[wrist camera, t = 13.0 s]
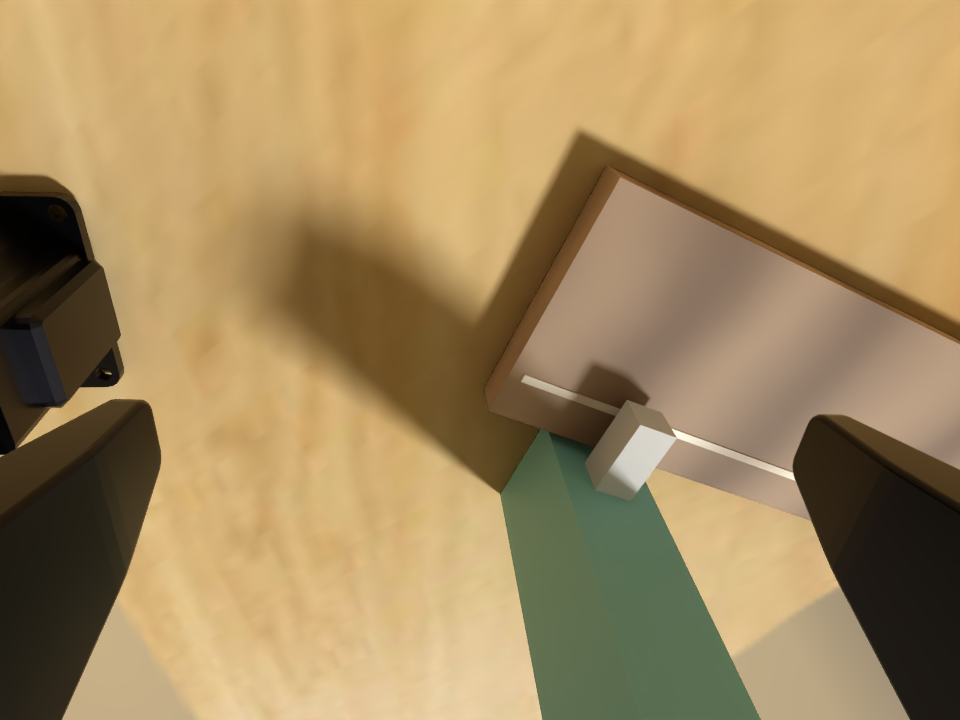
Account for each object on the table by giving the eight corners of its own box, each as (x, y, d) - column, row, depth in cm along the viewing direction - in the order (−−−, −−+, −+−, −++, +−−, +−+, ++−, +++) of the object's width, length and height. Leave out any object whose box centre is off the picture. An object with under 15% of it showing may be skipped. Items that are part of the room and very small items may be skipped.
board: (484, 388, 24) (488, 412, 23) (606, 165, 20) (620, 178, 19) (868, 523, 30) (890, 548, 29) (1018, 369, 26) (1051, 389, 25)
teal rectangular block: (500, 494, 27) (568, 857, 16) (583, 359, 24) (739, 687, 13) (581, 518, 28) (699, 872, 17) (670, 393, 25) (883, 719, 14)
